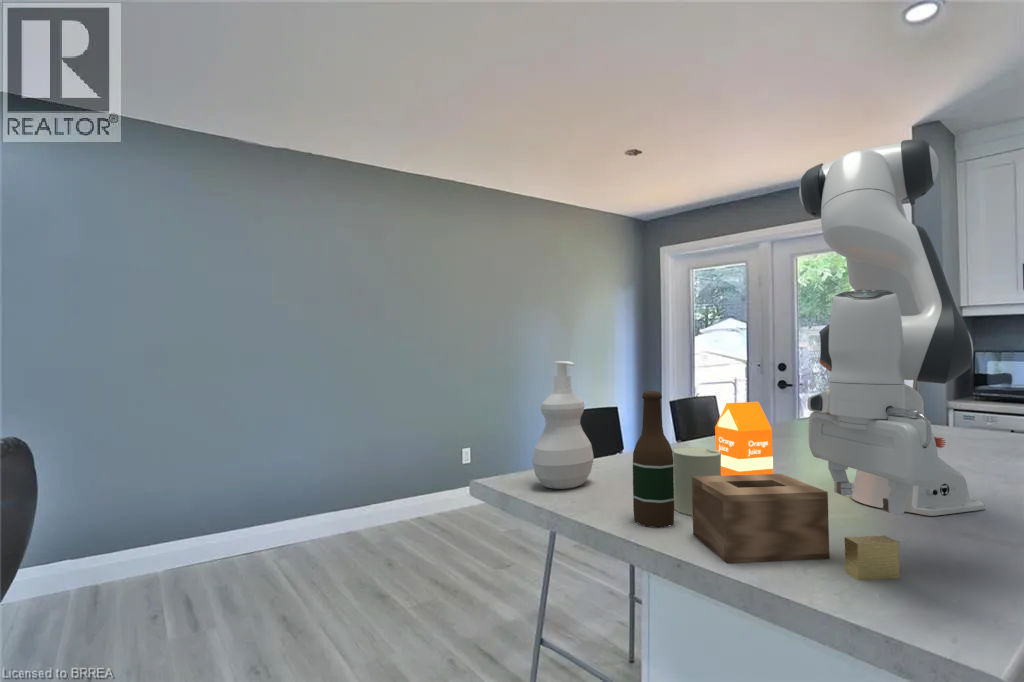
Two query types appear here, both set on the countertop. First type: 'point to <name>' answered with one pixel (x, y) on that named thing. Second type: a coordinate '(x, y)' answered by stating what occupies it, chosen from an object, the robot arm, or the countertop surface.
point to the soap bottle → (562, 437)
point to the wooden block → (872, 557)
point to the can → (692, 473)
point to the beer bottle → (653, 468)
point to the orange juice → (744, 440)
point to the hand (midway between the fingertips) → (866, 503)
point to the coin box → (760, 518)
